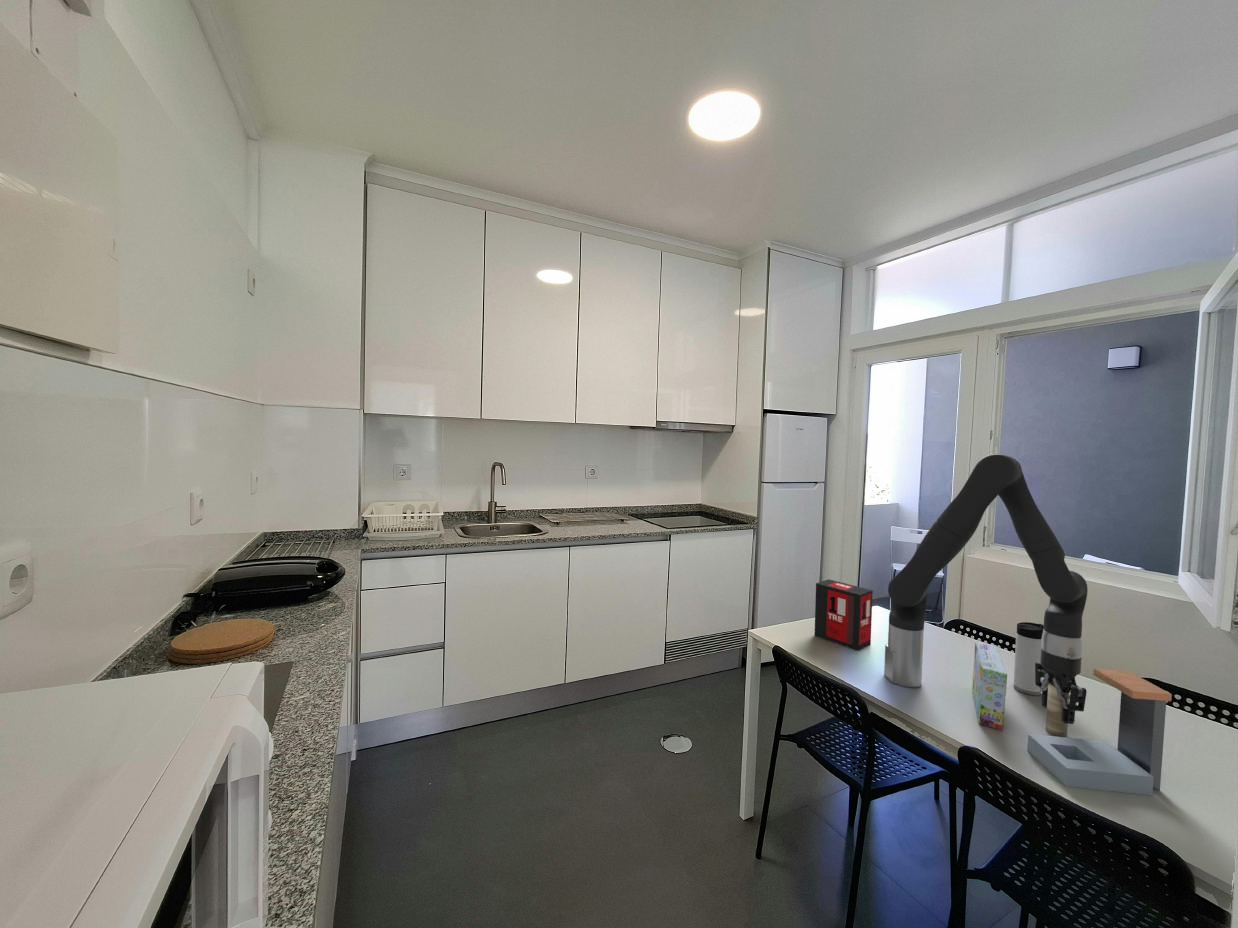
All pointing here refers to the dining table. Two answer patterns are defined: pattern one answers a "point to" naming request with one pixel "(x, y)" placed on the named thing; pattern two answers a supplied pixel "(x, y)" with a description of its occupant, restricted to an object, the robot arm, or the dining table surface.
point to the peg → (1055, 713)
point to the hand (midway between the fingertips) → (1057, 714)
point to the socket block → (1089, 764)
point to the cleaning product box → (843, 614)
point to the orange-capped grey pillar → (1139, 719)
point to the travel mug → (1027, 657)
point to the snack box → (989, 685)
